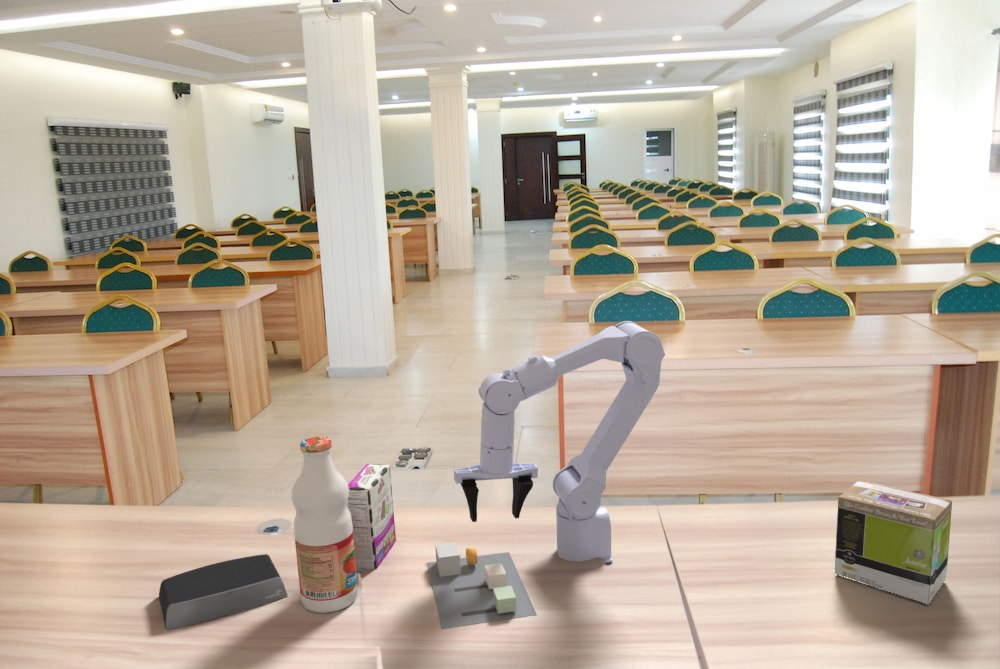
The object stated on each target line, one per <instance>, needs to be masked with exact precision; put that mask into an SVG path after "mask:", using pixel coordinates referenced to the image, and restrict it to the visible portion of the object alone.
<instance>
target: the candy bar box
mask: <svg viewBox="0 0 1000 669" xmlns="http://www.w3.org/2000/svg"><path fill="white" fill-rule="evenodd" d="M391 477H392V476H391V464H381V463H380V464H379V463H375V464H374V463H366V464H365V465H364V466H363V467H362V468H361V469H360V471H358V473H357V474H356V475H355V476H354V477H353V478H352V479H351V480H350V482H349V483H347V484H348V488H349V497H348V502H347V507H348V509H349V511H350V513H351V517H352V524H353V537H354V549H355V561H356V573H357V572H361V573H362V569H366V570H377V569H378V568H379V566H380V565H381V564H382V562H383V561H384V559H385V558H386V557H387V555H388V553H389V552H390V551H391V549H392V548H393V546H394V545H395V543H396V541H397V537H396V524H395V512H394V502H393V501H394V500H393V490H392V478H391Z"/></svg>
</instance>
